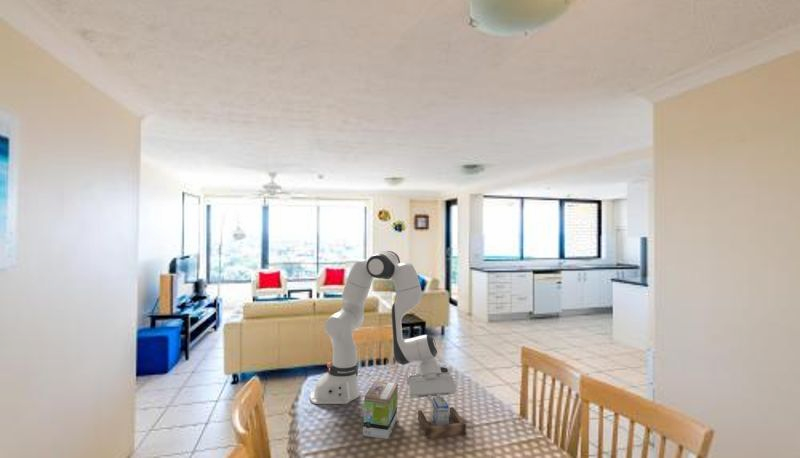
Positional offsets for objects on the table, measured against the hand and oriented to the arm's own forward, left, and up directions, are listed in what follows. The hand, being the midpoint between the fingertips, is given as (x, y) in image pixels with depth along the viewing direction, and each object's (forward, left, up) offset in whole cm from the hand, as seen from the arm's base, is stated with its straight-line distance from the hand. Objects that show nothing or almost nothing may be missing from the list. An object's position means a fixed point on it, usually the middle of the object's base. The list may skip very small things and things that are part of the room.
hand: (435, 406), depth 149 cm
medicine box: (0, -5, -5) cm, 7 cm away
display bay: (0, -6, -4) cm, 7 cm away
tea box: (-23, -3, -5) cm, 24 cm away
